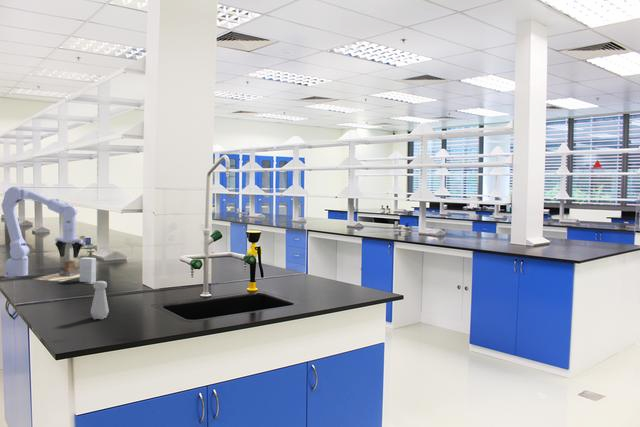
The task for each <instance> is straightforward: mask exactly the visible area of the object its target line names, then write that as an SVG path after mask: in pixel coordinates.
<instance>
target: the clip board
mask: <svg viewBox="0 0 640 427" xmlns="http://www.w3.org/2000/svg"><path fill="white" fill-rule="evenodd" d="M79 277H80V269H76V268H75V271H71V272H67V271H63V270H59V271H58V272H57V273H53V274H48V275H44V276H39V277H35V278H33V280H40V281H54V282H65V281H69V280H73V279H77V278H78V279H79Z"/></svg>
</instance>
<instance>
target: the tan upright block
mask: <svg viewBox="0 0 640 427" xmlns="http://www.w3.org/2000/svg"><path fill="white" fill-rule="evenodd" d="M62 267H63V269H62V271H67V272H71V271H75V269H76V260H66V261H63V266H62Z"/></svg>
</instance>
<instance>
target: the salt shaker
mask: <svg viewBox="0 0 640 427" xmlns="http://www.w3.org/2000/svg"><path fill="white" fill-rule="evenodd" d="M92 285H93V289H94V295H93V299H92V304H91V308H90V314H91V316H92V319H93V320H96V319H100V320H104V318H105V319H107V316H108V314H109V312H110V311H109V310H110V309H109V305H108V300H107V293H106V288H108V287H107V286H108V283H107V281H104V280H96V282H94V283H93V284H92Z"/></svg>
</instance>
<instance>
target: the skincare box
mask: <svg viewBox="0 0 640 427" xmlns="http://www.w3.org/2000/svg"><path fill="white" fill-rule="evenodd" d="M79 270H80V277H78V280H79V283H80V282H82V284H84V285H94V282H96V281H97V258H96V257H80V258H79Z"/></svg>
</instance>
